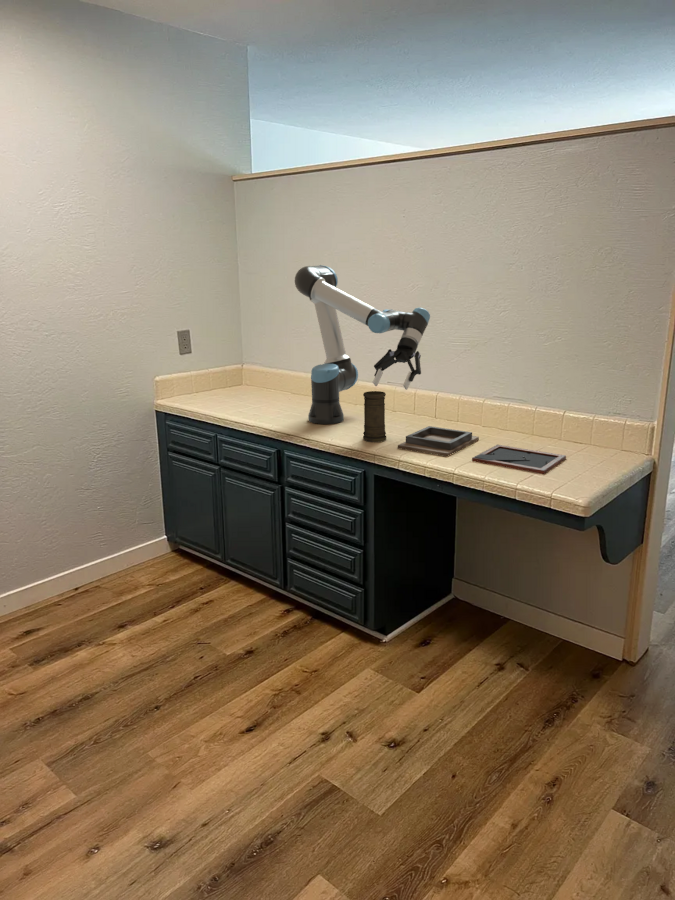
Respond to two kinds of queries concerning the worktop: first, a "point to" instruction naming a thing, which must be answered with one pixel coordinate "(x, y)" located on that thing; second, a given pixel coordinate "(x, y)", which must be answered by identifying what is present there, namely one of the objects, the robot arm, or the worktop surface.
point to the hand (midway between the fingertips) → (389, 385)
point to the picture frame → (520, 458)
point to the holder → (438, 440)
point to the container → (374, 416)
